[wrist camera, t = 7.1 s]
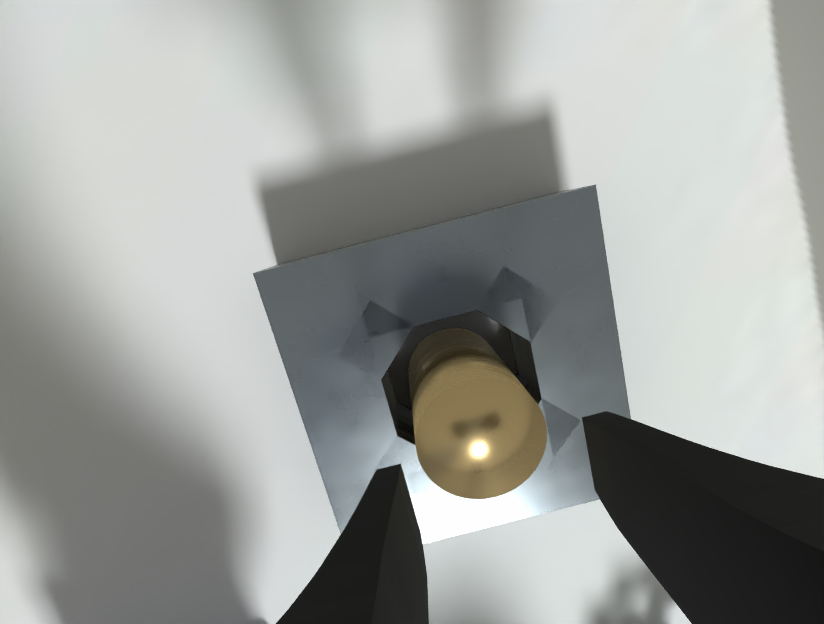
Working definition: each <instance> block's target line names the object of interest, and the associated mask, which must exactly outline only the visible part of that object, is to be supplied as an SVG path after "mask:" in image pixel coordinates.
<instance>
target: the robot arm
mask: <svg viewBox="0 0 824 624" xmlns="http://www.w3.org/2000/svg"><path fill="white" fill-rule="evenodd" d="M582 421H583V427H584V433H585V438H586V444H587V450H588V455H589V461H590V466H591V472H592V478H593V483H594V489H595V491H596V493H597V495H598V496H599V498H600V500H601V502H602V503H603V505H604V507H605V508H606V510H607V512H608V513H609V515H610V516H611V518H612V520H613V521H614V523H615V525H616V526H617V528H618V529H619V531H620V532H621V533H622V534H623V536H624V537H625V538H626V540H627V541H628V542H629V544H630V545H631V546H632V548H633V549H634V550H635V551H636V553H637V554H638V555H639V557H640V558H641V559H642V560H643V562H644V563H645V564H646V566H647V567H648V568H649V569H650V571H651V572H652V573H653V575H654V576H655V577H656V578H657V580H658V581H659V582H660V583H661V585H662V586H663V587H664V589H665V590H666V591H667V592H668V594H669V595H670V596H671V598H672V599H673V600H674V601H675V603H676V604H677V605H678V606H679V608H680V609H681V610H682V612H683V613H684V614H685V615H686V617H687V618H688V619H689V621H690V622H691V623H692V624H824V479H822V478H817V477H813V476H809V475H805V474H801V473H797V472H793V471H789V470H785V469H781V468H777V467H773V466H769V465H765V464H762V463H758V462H754V461H751V460H747V459H744V458H741V457H738V456H735V455H731V454H728V453H725V452H722V451H718V450H715V449H712V448H709V447H706V446H703V445H700V444H697V443H694V442H691V441H689V440H686V439H683V438H680V437H677V436H675V435H672V434H669V433H666V432H664V431H661V430H658V429H656V428H653V427H650V426H648V425H645V424H642V423H639V422H637V421H634V420H631V419H629V418H626V417H623V416H620V415H617V414H614V413H611V412H608V411H605V412H601V413H597V414H593V415H589V416H585V417H582ZM276 624H429V620H428V590H427V573H426V565H425V558H424V551H423V544H422V537H421V532H420V528H419V525H418V521H417V518H416V514H415V511H414V508H413V504H412V501H411V497H410V494H409V490H408V487H407V483H406V480H405V476H404V473H403V469H402V466H401V464H397V465H393V466H389V467H385V468H381V469H377V470H376V472H375V473H374V475H373V477H372V478H371V480H370V482H369V484H368V486H367V488H366V490H365V492H364V494H363V496H362V498H361V500H360V502H359V503H358V505H357V507H356V509H355V511H354V513H353V514H352V516H351V518H350V520H349V521H348V523H347V525H346V527H345V528H344V530H343V532H342V534H341V535H340V537H339V539H338V540H337V542H336V543H335V545H334V546H333V548H332V549H331V551H330V553H329V554H328V556H327V557H326V559H325V560H324V562H323V564H322V565H321V567H320V568H319V569H318V571H317V572H316V574H315V575H314V577H313V578H312V579H311V581H310V582H309V583H308V585H307V586H306V587H305V589H304V590H303V591H302V592H301V594H300V595H299V596H298V598H297V599H296V600H295V601H294V603H293V604H292V605H291V607H290V608H289V609H288V610H287V611H286V613H285V614H284V615H283V616H282V617H281V618H280V620H279V621H278V622H277V623H276Z"/></svg>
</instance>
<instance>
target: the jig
mask: <svg viewBox="0 0 824 624" xmlns="http://www.w3.org/2000/svg"><path fill="white" fill-rule="evenodd" d="M253 275H254V278H255V281H256V284H257V287H258V290H259V293H260V296H261V299H262V302H263V305H264V308H265V311H266V313H267V316H268V319H269V322H270V325H271V328H272V331H273V334H274V337H275V340H276V343H277V346H278V349H279V352H280V355H281V358H282V361H283V364H284V367H285V370H286V373H287V376H288V379H289V382H290V385H291V388H292V391H293V393H294V396H295V399H296V402H297V405H298V408H299V411H300V414H301V417H302V420H303V423H304V426H305V429H306V432H307V435H308V438H309V441H310V444H311V447H312V450H313V453H314V456H315V459H316V462H317V465H318V468H319V471H320V474H321V476H322V479H323V482H324V485H325V488H326V491H327V494H328V497H329V500H330V503H331V506H332V509H333V512H334V515H335V518H336V521H337V524H338V527H339V530H340V533H341V534H342V532H343V530H344V528H345V527H346V525H347V523H348V521H349V520H350V518H351V516H352V514H353V513H354V511H355V509H356V507H357V505H358V503H359V502H360V500H361V498H362V496H363V494H364V492H365V490H366V488H367V486H368V484H369V482H370V480H371V478H372V477H373V475H374V473H375V472H376V470H377V469H381V468H385V467H389V466H393V465H397V464H401V466H402V469H403V473H404V476H405V480H406V483H407V487H408V490H409V494H410V497H411V501H412V504H413V508H414V511H415V514H416V518H417V521H418V525H419V528H420V532H421V537H422V544H425V543H429V542H432V541H436V540H440V539H444V538H448V537H452V536H456V535H460V534H464V533H468V532H472V531H476V530H480V529H484V528H488V527H492V526H496V525H500V524H504V523H508V522H512V521H516V520H520V519H523V518H527V517H531V516H535V515H539V514H543V513H547V512H551V511H555V510H559V509H563V508H567V507H571V506H575V505H579V504H583V503H587V502H591V501H595V500H599V499H600V498H599V496H598V495H597V493H596V491H595V489H594V483H593V478H592V472H591V466H590V461H589V455H588V450H587V444H586V438H585V433H584V427H583V421H582V417H585V416H589V415H593V414H597V413H601V412H605V411H608V412H611V413H614V414H617V415H620V416H623V417H626V418H629V419H631V417H630V410H629V404H628V397H627V390H626V384H625V377H624V370H623V364H622V357H621V350H620V344H619V337H618V330H617V324H616V317H615V310H614V304H613V297H612V290H611V284H610V277H609V270H608V264H607V257H606V250H605V244H604V237H603V230H602V224H601V217H600V210H599V204H598V197H597V190H596V185H592V186H587V187H582V188H577V189H572V190H567V191H562V192H558V193H554V194H550V195H546V196H542V197H538V198H534V199H531V200H527V201H523V202H519V203H515V204H511V205H507V206H503V207H500V208H496V209H492V210H488V211H484V212H480V213H476V214H473V215H469V216H465V217H461V218H457V219H453V220H449V221H446V222H442V223H438V224H434V225H430V226H426V227H422V228H418V229H415V230H411V231H407V232H403V233H399V234H395V235H391V236H388V237H384V238H380V239H376V240H372V241H368V242H364V243H361V244H357V245H353V246H349V247H345V248H341V249H337V250H333V251H330V252H326V253H322V254H318V255H314V256H310V257H306V258H303V259H299V260H295V261H291V262H287V263H283V264H279V265H276V266H273V267H270V268H267V269H264V270H261V271H258V272H256V273H253ZM475 310H478V311H479V312H481V313H483V314H484V315H486V316H488V317H490V318H491V319H493V320H495V321H496V322H498V323H500V324H501V325H503V326H505V327H506V328H508V329H509V331H510V335H511V340H512V345H513V350H514V355H515V359H516V364H517V369H518V372H517V374H516V375H515V377H516V378H517V379H518V380H519V382H520V383H521V384H522V385H523V386H524V388H525V389H526V390H527V391H528V393H529V394H530V395H531V396H532V398H533V399H534V400H535V401H536V403H537V404H538V406H539V407H540V409H541V411H542V413H543V416H544V418H545V422H546V427H547V443H546V448H545V452H544V455H543V457H542V459H541V462H540V464H539V465H538V467H537V468H536V470H535V471H534V472H533V474H532V475H531V476H530V477H529V478H528V479H527V480H526V481H525V482H524V483H522V484H521V485H520V486H518V487H517V488H515V489H513V490H512V491H510V492H508V493H505V494H503V495H500V496H497V497H493V498H487V499H468V498H462V497H459V496H455V495H452V494H450V493H448V492H446V491H444V490H443V489H441V488H439V487H438V486H437V485H436V484H434V483H433V482H432V481H431V480H430V479H429V477H428V476H427V475H426V473H425V472H424V471H423V469H422V467H421V465H420V462H419V460H418V457H417V452H416V445H415V435H414V425H413V415H412V411H411V410H410V409H408V408H406V407H404V406H402V405H400V404H398V403H396V399H395V395H394V392H393V388H392V385H391V381H390V378H389V374H388V371H387V369H388V368H389V366H390V364H391V363H392V361H393V359H394V358H395V356H396V355H397V353H398V351H399V350H400V348H401V346H402V345H403V343H404V341H405V340H406V338H407V336H408V335H409V333H410V332H411V330H412V328H413V327H414V326H417V325H421V324H425V323H428V322H432V321H436V320H440V319H444V318H448V317H452V316H456V315H460V314H463V313H467V312H471V311H475Z"/></svg>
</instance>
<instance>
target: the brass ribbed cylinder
mask: <svg viewBox="0 0 824 624" xmlns="http://www.w3.org/2000/svg"><path fill="white" fill-rule="evenodd" d="M408 375H409V386H410V396H411V405H412V415H413V425H414V435H415V445H416V452H417V457H418V460H419V462H420V465H421V467H422V469H423V471H424V472H425V473H426V475H427V476H428V477H429V479H430V480H431V481H432V482H433V483H434V484H436V485H437V486H438V487H439V488H441V489H443V490H444V491H446V492H448V493H450V494H452V495H455V496H459V497H462V498H468V499H487V498H493V497H497V496H500V495H503V494H505V493H508V492H510V491H512V490H513V489H515V488H517V487H518V486H520V485H521V484H522V483H524V482H525V481H526V480H527V479H528V478H529V477H530V476H531V475H532V474H533V472H534V471H535V470H536V468H537V467H538V465H539V464H540V462H541V459H542V457H543V455H544V452H545V448H546V443H547V427H546V422H545V418H544V416H543V413H542V411H541V409H540V407H539V406H538V404H537V403H536V401H535V400H534V399H533V398H532V396H531V395H530V394H529V393H528V391H527V390H526V389H525V388H524V386H523V385H522V384H521V383H520V382H519V380H518V379H517V378H516V377H515V375H514V374H513V373H512V372H511V370H510V369H509V368H508V367H507V365H506V364H505V363H504V362H503V361H502V359H501V358H500V357H499V356H498V354H497V353H496V352H495V351H494V349H493V348H492V347H491V346H490V345H489V343H488V342H487V341H486V340H485V339H484V338H483V337H481V336H480V335H478V334H477V333H475V332H473V331H470V330H467V329H462V328H448V329H443V330H440V331H437V332H435V333H433V334H431V335H429V336H428V337H426V338H425V339H424V340H423V341H422V342H421V343H420V344H419V345H418V346H417V348H416V349H415V351H414V352H413V354H412V357H411V359H410V363H409V370H408Z"/></svg>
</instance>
